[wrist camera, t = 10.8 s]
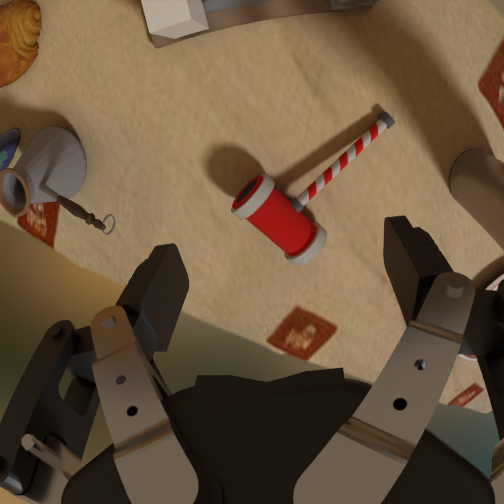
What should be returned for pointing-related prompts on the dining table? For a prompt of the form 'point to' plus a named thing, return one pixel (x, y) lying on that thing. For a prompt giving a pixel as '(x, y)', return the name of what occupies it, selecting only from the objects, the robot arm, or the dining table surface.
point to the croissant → (18, 39)
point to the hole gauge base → (261, 13)
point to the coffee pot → (48, 175)
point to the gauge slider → (174, 17)
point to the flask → (8, 147)
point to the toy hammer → (295, 205)
